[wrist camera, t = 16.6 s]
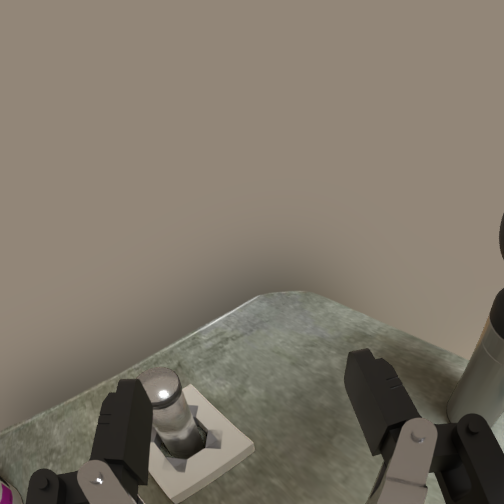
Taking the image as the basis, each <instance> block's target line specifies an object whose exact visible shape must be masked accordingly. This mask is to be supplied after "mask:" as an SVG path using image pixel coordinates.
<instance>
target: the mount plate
mask: <svg viewBox="0 0 504 504" xmlns="http://www.w3.org/2000/svg"><path fill="white" fill-rule="evenodd" d="M182 391H183V393H184V396H185V399H186V401H187V404H188V406H189V409H190V411H191V414H192V416H193V419H194V421H195V423H196V426H200V427H201V428H202V429H203V430H204V431H205V432H206V433H207V434H208V435H207V440H206V446H205V448H204V449H203V450H201V451H200V452H198V453H197V454H195V455H193V456H192V457H190V458H189V459H187V460H186V459H178V458H170V457H165V456H164V455H163V453H162V452H161V451H160V447H161V443H162V439H161V438H160V436H159V434H158V433H157V431H156V429H155V428H154V426H153V424H152V432H151V443H150V455H149V468H148V471H149V472H150V474H151V475H152V476H153V478H154V479H155V480H156V482H157V483H158V484H159V486H160V487H161V488H162V490H163V491H164V492H165V493H166V495H167V496H168V497H169V498H170V500H171V501H172V502H173V503H174V504H178V503H180V502H181V501H183V500H185V499H186V498H188V497H189V496H191V495H193V494H194V493H196V492H197V491H199V490H200V489H202V488H204V487H205V486H207V485H208V484H210V483H211V482H213V481H214V480H216V479H217V478H219V477H220V476H221V475H223V474H224V473H226V472H227V471H229V470H230V469H231V468H233V467H234V466H236V465H237V464H238V463H240V462H241V461H243V460H244V459H245V458H247V457H248V456H249V455H251V454H252V453H253V452H255V447H254V443H253V442H252V441H251V440H250V439H249V438H248V437H247V436H245V435H244V434H243V433H242V432H241V431H240V430H239V429H238V428H236V427H235V426H234V425H233V424H232V423H231V422H230V421H229V420H228V419H227V418H226V417H224V416H223V415H222V414H221V413H220V412H219V411H218V410H217V409H216V408H215V407H214V406H213V405H212V404H211V403H210V402H209V401H208V400H207V399H206V398H205V397H204V396H203V395H202V394H201V393H200V392H199V391H198V390H197V389H196V388H195V387H194V386H193V385H192V384H190V385H188V386H187V387H185V388H183V389H182Z"/></svg>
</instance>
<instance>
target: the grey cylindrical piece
mask: <svg viewBox="0 0 504 504" xmlns="http://www.w3.org/2000/svg"><path fill="white" fill-rule="evenodd" d="M136 379H140V381H141V383H142V385H143V387H144V389H145V391H146V393H147V395H148V397H149V399H150V401H151V403H152V407H153V422H152V424H153V426H154V428H155V429H156V431H157V433H158V434H159V436H160V438H161V439H162V441H163V443H164V444H165V446H166V447H167V449H168V451H169V452H170V454H171V455H172V456H173V457H175V458H178V459H186V460H187V459H189V458H190V457H192V456H193V455H195V454H197V453H198V452H200V451H201V450H203V447H204V443H203V440H202V438H201V435H200V433H199V431H198V428H197V426H196V423H195V421H194V419H193V416H192V414H191V411H190V409H189V406H188V404H187V401H186V399H185V396H184V393H183V391H182V386H181V383H180V380H179V377H178V375H177V374H176V373H175V372H174V371H173V370H171V369H168V368H165V367H155V368H151V369H148V370H146V371H144V372H143V373H141V374H140V375H139V376H138V377H137V378H136Z"/></svg>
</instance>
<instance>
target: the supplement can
mask: <svg viewBox="0 0 504 504" xmlns="http://www.w3.org/2000/svg"><path fill="white" fill-rule="evenodd" d="M0 504H23V503H22V499H21V496H20V494H19V493H18V491H17V489H15V488H14V487H13V486H12V485H10V484H9V483H8V482H7V481H5V480H4V479H3V478H1V477H0Z"/></svg>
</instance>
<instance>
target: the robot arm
mask: <svg viewBox="0 0 504 504" xmlns="http://www.w3.org/2000/svg"><path fill="white" fill-rule="evenodd" d="M499 242H500V243H499V244H500V249H501V254H502V257H503V259H504V214H503V217H502V221H501V226H500V233H499ZM344 383H345V388H346V391H347V394H348V396H349V399H350V401H351V404H352V406H353V409H354V411H355V413H356V416H357V418H358V421H359V423H360V426H361V428H362V431H363V433H364V436H365V438H366V441H367V443H368V446H369V448H370V451H371V453H372V456H375V455H379V454H382V457H383V459H384V461H383V463H382V466H381V468H380V471H379V473H378V476H377V478H376V481H375V483H374V486H373V488H372V490H371V493H370V495H369V497H368V500H367V502H366V503H365V504H424V502H425V499H426V495H427V490H428V488H427V486H426V480H427V476H428V473H432V472H434V473H435V476H436V478H437V481H438V483H439V486H440V489H441V491H442V494H443V497H444V500H445V502H446V504H504V453H503V451H502V449H501V447H500V445H499V444H498V442H497V440H496V438H495V436H494V434H493V432H492V430H491V427H492V426H493V425H494V423H495V422H496V421H497V420H498V418H499V417H500V416H501V414H502V413H503V412H504V288H503V289H502V290H501V291H500V292H499V293H498V294H497V296H496V298H495V300H494V302H493V305H492V308H491V311H490V314H489V316H488V319H487V321H486V324H485V327H484V329H483V331H482V334H481V336H480V338H479V341H478V343H477V345H476V348H475V350H474V352H473V354H472V357H471V359H470V361H469V363H468V365H467V367H466V369H465V371H464V373H463V375H462V377H461V379H460V381H459V383H458V384H457V386H456V388H455V390H454V392H453V394H452V396H451V398H450V399H449V401H448V404H447V415H448V418H449V420H450V422H451V423H449V424H433V423H432V422H431V421H429V420H427V419H424V418H422V417H421V416H420V415H419V413H418V411H417V409H416V408H415V406H414V404H413V402H412V400H411V398H410V397H409V395H408V393H407V391H406V389H405V388H404V386H402V382H401V381H400V379H399V378H398V375H397V374H396V372H395V370H394V368H393V367H392V365H390V364H389V363H388V362H387V361H385V360H384V359H383V358H380V359H376V360H375V358H374V356H373V354H372V353H371V351H370V350H369V349H368V348H365V349H361V350H357V351H352V352H349V354H348V359H347V365H346V370H345V376H344ZM152 422H153V407H152V403H151V401H150V399H149V397H148V395H147V393H146V391H145V389H144V387H143V385H142V383H141V381H140V379H120V380H119V382H118V386H117V391H116V393H109V394H108V396H107V397H106V398H105V400H104V401H103V403H102V407H101V411H100V416H99V419H98V425H97V428H96V433H95V438H94V442H93V447H92V452H91V457H90V459H89V461H88V462H86V463H84V464H83V465H82V466H81V467H80V469H79V470H78V471H75V472H70V473H65V474H59V475H56V474H55V473H54V472H53V471H51V470H49V469H39V470H37V471H36V472H34V473H33V474H32V476H31V478H30V481H29V487H28V492H27V499H26V504H145V502H144V501H143V500H142V499H141V497H140V496H139V495H138V485H147V483H148V468H149V455H150V443H151V432H152Z"/></svg>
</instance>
